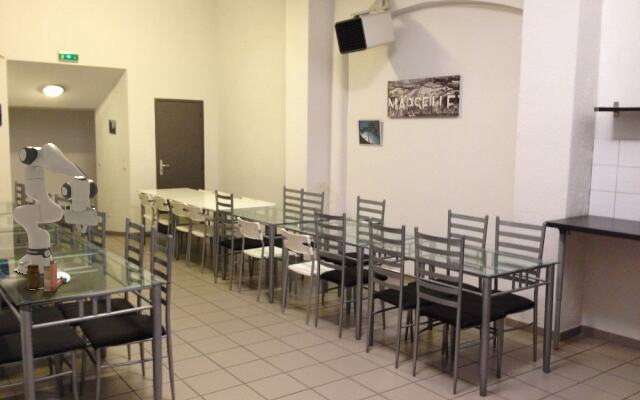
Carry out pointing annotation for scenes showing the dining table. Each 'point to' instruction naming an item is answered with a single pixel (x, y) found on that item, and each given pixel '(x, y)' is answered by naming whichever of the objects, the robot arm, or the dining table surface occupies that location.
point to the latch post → (46, 277)
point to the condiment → (33, 277)
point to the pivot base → (64, 280)
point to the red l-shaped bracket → (54, 276)
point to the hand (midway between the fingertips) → (81, 232)
